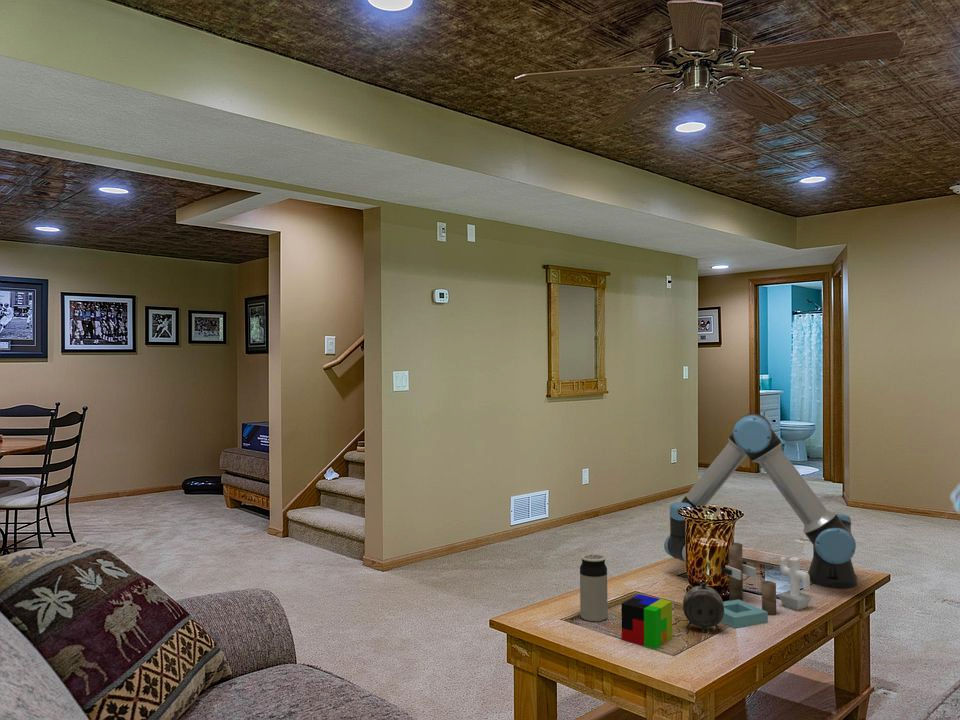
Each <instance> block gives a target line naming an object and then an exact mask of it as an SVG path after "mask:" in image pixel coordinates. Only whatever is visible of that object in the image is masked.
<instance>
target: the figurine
mask: <svg viewBox="0 0 960 720" xmlns="http://www.w3.org/2000/svg"><path fill="white" fill-rule="evenodd" d="M787 560H789V567H788V561H787ZM779 571H780V574H781V575H782V576H785V577H788V578H789V590H787V591H783V592H779V593H776V596H778V598H779V600H780V601H781V603H782V605H783V606H784V607H785V608H788V607H789V608H788V609H791V608H792V609H791V610H794V609H795V611H800V610H803V608H804V609H806V608H807V607H808V605H809V603H810V602H811V601H812V598H813V597H814V596H813V595H810V594H807V593H803V592H801V589H800V586H801V583H800V582H802V590H803V591H806V592H807V591H810V589H811V581H810V576H809V574H808V571H803V570H801V562H800V558H799V557H796V556H793V557H790V558H788V559H787V557H786V556H781V557H780V558H779ZM799 609H800V610H799Z"/></svg>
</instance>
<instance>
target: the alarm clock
mask: <svg viewBox="0 0 960 720" xmlns="http://www.w3.org/2000/svg"><path fill="white" fill-rule="evenodd" d="M701 575H706V576H707V578H708V581H707V582H704V581H703V582H700V580H699V577H700V576H701ZM696 578H697V582H698V583H699V584H700V585H696V586H693V587H691V588H690V589H688V590H687V592H686V593H685V595H684V596H683V601H682V605H683V607H682V608H683V613H684V616H685V617H686V619H687V620H688V623H687V624H686V628H689V627H690V626H691V625H693V626H695V627H697V628H700V629H701V632H702V634H704V633H705V632H706V631H705V629H710V628H711V629H712V628H714V627H715V628H716V629H717V631H721V628H719V624H720V623H721V620H722V618H723V615H724V605H723V602H724V601H723V598H722V596H721V595H720V593H719V592H718V591H717V590H715V589H714V588H712V587H710V586H707V585H708V583H709V582H710V580H711V578H710V576H709V574H707V573H706V572H700V573H699V574H698V575H697V577H696Z"/></svg>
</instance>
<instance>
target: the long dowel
mask: <svg viewBox="0 0 960 720" xmlns="http://www.w3.org/2000/svg"><path fill="white" fill-rule="evenodd" d="M730 543H731V545H730V548H729V547H728V555H729V566H730V567H733V568H735V569H738V570H741V580H738V579H736V578H733V577H731V576H728V577H729V578H728V582H729V583H728V584H729V585H728V587H729V588H728V590H729V592H728V594H729V600H728V601H732V600H741V601H744V585H743V584H744V579H743V578H744V576H743V575H744V574H743V561H744V559H743V544H742V543H741V542H730ZM732 543H734V545H732Z"/></svg>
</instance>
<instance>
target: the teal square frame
mask: <svg viewBox="0 0 960 720" xmlns="http://www.w3.org/2000/svg"><path fill="white" fill-rule="evenodd" d="M723 605H724V615H723V618H722V620H721V621H720V623H723V624H725V625H726V626H729V627H731V628H733V629H738V628H744V627H750V626H756V625H760V624H767V623H769V615H768V612H767V611H764V610H762V608H759V607H757V606H755V605H753V604H750V603H748V602H745V601H744V600H743V601H741V600H732V601H729V600H727V601H723Z"/></svg>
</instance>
